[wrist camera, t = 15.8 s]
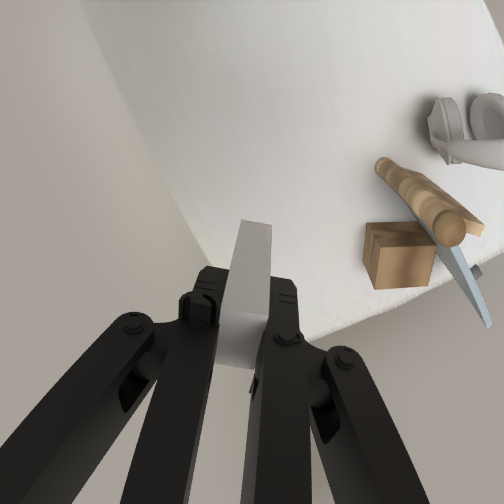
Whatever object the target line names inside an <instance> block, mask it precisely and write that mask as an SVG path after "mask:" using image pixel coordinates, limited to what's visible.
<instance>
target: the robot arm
mask: <svg viewBox="0 0 504 504" xmlns="http://www.w3.org/2000/svg"><path fill="white" fill-rule="evenodd" d="M271 241H272V225H269V224H263V223H258V222H252V221H246V220H241V223H240V228H239V232H238V236H237V240H236V244H235V249H234V253H233V257H232V261H231V266H230V270H228V269H222V268H217V267H211V266H206V267H205V268H204V269H202V270H201V271H200V272H199V275H198V277H197V280H196V283H195V285H194V288H193V291H191V292H187V293H186V294H184V295H182V297H181V298H180V299H179V318H178V319H177V320H175V321H172V322H166V323H153V321H152V320H151V318H150V317H149V316H147V315H146V314H144V313H140V312H129V313H125V314H122V315H121V316H119V317H118V318H117V319H116V320H115V321H114V322H113V323H112V324H111V325H110V326H109V327H108V328H107V329H106V330H105V331H104V332H103V333H102V334H101V335H100V336H99V338H98V339H97V340H96V341H95V342H94V343H93V344H92V345H91V346H90V347H89V348H88V349H87V350H86V351H85V352H84V353H83V354H82V356H81V357H80V358H79V359H78V360H77V361H76V362H75V363H74V364H73V365H72V366H71V367H70V368H69V370H68V371H67V372H66V373H65V374H64V375H63V376H62V377H61V378H60V379H59V381H58V382H57V383H56V384H55V385H54V386H53V387H52V388H51V389H50V391H49V392H48V393H47V394H46V395H45V396H44V397H43V398H42V400H41V401H40V402H39V403H38V404H37V405H36V406H35V407H34V409H33V410H32V411H31V412H30V413H29V415H28V416H27V417H26V418H25V419H24V420H23V421H22V423H21V424H20V425H19V426H18V427H17V429H16V430H15V431H14V432H13V433H12V434H11V436H10V437H9V438H8V439H7V440H6V442H5V443H4V444H3V445H2V446H1V448H0V504H72V502H73V501H74V499H75V498H76V496H77V495H78V493H79V492H80V491H81V489H82V488H83V486H84V485H85V483H86V482H87V480H88V479H89V477H90V476H91V475H92V473H93V472H94V470H95V469H96V467H97V465H98V464H99V463H100V461H101V460H102V459H103V457H104V456H105V454H106V453H107V451H108V450H109V448H110V447H111V446H112V444H113V443H114V441H115V439H116V438H117V437H118V435H119V434H120V432H121V431H122V429H123V428H124V427H125V425H126V424H127V422H128V421H129V419H130V418H131V417H132V415H133V414H134V412H135V411H136V409H137V408H138V406H139V405H140V404H141V402H142V401H143V399H144V398H145V396H146V395H147V393H148V392H149V390H150V389H151V388H152V386H153V384H154V383H155V382H156V380H157V383H156V386H155V389H154V392H153V395H152V398H151V401H150V404H149V407H148V410H147V413H146V416H145V420H144V423H143V426H142V429H141V432H140V436H139V439H138V442H137V445H136V449H135V453H134V455H133V459H132V462H131V466H130V469H129V472H128V476H127V480H126V483H125V487H124V490H123V494H122V497H121V501H120V504H188V500H189V495H190V489H191V483H192V479H193V473H194V468H195V462H196V456H197V451H198V446H199V440H200V435H201V430H202V425H203V420H204V414H205V409H206V404H207V399H208V393H209V388H210V383H211V378H212V372H213V365H214V363H217V364H222V365H228V366H234V367H240V368H246V369H253V370H254V368H255V374H254V378H253V381H252V384H251V388H250V391H249V393H251V400H250V412H249V422H248V432H247V442H246V453H245V462H244V473H243V482H242V492H241V502H240V504H312V482H311V444H310V443H311V442H310V427H311V430H312V433H313V436H314V439H315V442H316V445H317V448H318V452H319V455H320V458H321V461H322V464H323V467H324V470H325V473H326V477H327V480H328V483H329V486H330V489H331V492H332V495H333V499H334V502H335V504H430V503H429V500H428V498H427V496H426V493H425V491H424V488H423V486H422V484H421V482H420V479H419V477H418V475H417V472H416V470H415V468H414V466H413V463H412V461H411V459H410V457H409V454H408V452H407V450H406V448H405V446H404V444H403V441H402V439H401V437H400V435H399V433H398V431H397V428H396V427H395V424H394V422H393V420H392V418H391V416H390V414H389V412H388V410H387V407H386V405H385V403H384V401H383V399H382V397H381V395H380V393H379V391H378V389H377V387H376V385H375V383H374V381H373V379H372V377H371V375H370V373H369V371H368V369H367V367H366V365H365V363H364V361H363V359H362V358H361V356H360V355H359V354H358V353H357V352H356V351H355V350H353V349H352V348H349V347H346V346H335V347H332V348H331V349H329V350H328V351H324V350H321V349H318V348H316V347H314V346H312V345H310V344H309V343H308V342H306V341H305V339H304V336H303V334H302V333H301V332H300V329H299V313H298V299H297V288H296V286H295V285H294V283H293V282H292V280H290V279H284V278H278V277H273V276H270V270H271Z"/></svg>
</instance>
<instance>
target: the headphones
mask: <svg viewBox="0 0 504 504" xmlns="http://www.w3.org/2000/svg"><path fill="white" fill-rule="evenodd" d="M427 120H428V127H429V133H430V141H431V144H432V147H434V148H435V149H436V150H438V152H439V153H440V155H441V156H442V158H443V159H444V161H445V162H446V164H447V165H449V164H450V163H452V164H461V163H462V162H465V163H468V164H473V165H477V166H480V167H484V168H490V169H496V170H502V171H504V97H503V96H502V95H500V94H495V93H488V94H482V95H480V96H479V97H477V98H475V99H474V101H473V103H472V106H471V108H470V124H471V128H472V132H473V135H474V136H475V138H476V140H464V135H463V129H462V123H461V118H460V114H459V110H458V107H457V105H456V102H455V101H454V100H453V99H452V98H451V97H450V98H441V99H439V98H436V100H435V103H434V107H433V110H432V113H431V114H430V115H429V117H427Z"/></svg>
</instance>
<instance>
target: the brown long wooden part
mask: <svg viewBox="0 0 504 504" xmlns="http://www.w3.org/2000/svg"><path fill="white" fill-rule="evenodd" d="M375 170H376V172H377V174H378V175H379V176H380V177H381V178H382V179H383V180H384V181H385V182H386V183H387V184H388V185H389V186H390V187H391V188H392V189H393V190H394V191H395V192H396V193H397V194H398V195H399V196H400V197H401V198H402V199H403V200H404V202H405V203H406V204H407V205H408V206H409V207H410V208H411V209H412V210H413V211H414V212H415V214H416V215H417V216H418V217H419V218H420V219H421V220H422V221H423V222H424V224H425V225H426V226H427V227H428V228H429V229H430V230H431V232H432V233H433V235H434V237H435V239H436V241H437V242H438V243H439V244H440V245H442V246H444V247H455V246H457V245H459V244H460V243H461V242H462V241H463V239H464V237H465V234H466V233H469V234H473V235H476V236H479V237H480V235H481V233H482V231H483V228H484V226H485V225H484V224H483V223H482V222H481V221H479V220H478V219H477V218H476V217H475V216H474V215H473V214H471V213H470V212H469V211H468V210H467V209H466V208H464V207H463V206H462V205H461V204H460V203H459V202H457V201H456V200H455V199H454V198H452V197H451V196H450V195H449V194H447V193H446V192H445V191H444V190H442V189H441V188H440V187H439V186H437V185H436V184H435V183H433V182H432V181H431V180H430V179H428V178H427V177H426V176H424V175H423V174H420V173H417V172H414V171H411V170H408V169H405V168H401V167H400V166H398V165H397V164H396V163H394V162H393V161H392V160H390V159H389V158H381V159H379V160H378V161H377V163H376V166H375Z"/></svg>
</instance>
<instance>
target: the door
mask: <svg viewBox="0 0 504 504" xmlns="http://www.w3.org/2000/svg"><path fill="white" fill-rule="evenodd" d="M409 208H410V207H409ZM410 209H411V208H410ZM411 211H412V212H413V214H414V216H415V217H416V219H417V220H418V222H419V223H420V225H421V226H422V228H423V229H424V230H425V231H426V232H427V234H428V235H429V236H430V237H431V238H432V240H433V241H434V242H435V243H436V245H437V249H436V251H437V253H438V255H439V256H440V258H441V260H442V262H443V263H444V265H445V266H446V267H447V269H448V270H449V272H450V273H451V274H452V276H453V277H454V279H455V280H456V281H457V283H458V284H459V286H460V287H461V289H462V290H463V292H464V293H465V294H466V296H467V297H468V299H469V300H470V302H471V303H472V305H473V307H474V308H475V310H476V311H477V313H478V314H479V316H480V318H481V319H482V321H483V322H484V324H485V325H486V327H487V328H489V327H490V326H491V325H493V324H492V322H491V319H490V316H489V313H488V311H487V308H486V306H485V303H484V301H483V298H482V296H481V293H480V291H479V289H478V286H477V284H476V282H475V280H477V279H478V278H479V277H480V276H482V272H481V270H480V269H479V267H478V266H477V265H476V264H475V265H474V266H473V267H471V268H469V266H468V264H467V262H466V260H465V258H464V256H463V253H462V251H461V249H460V247H459V245H457V246H455V247H444V246H442V245H440V244H439V243H438V242H437V241H436V239H435V237H434V235H433V233H432V232H431V230H430V229H429V228H428V227H427V226H426V225H425V224H424V222H423V221H422V220H421V219H420V218H419V217H418V216H417V215H416V214H415V212H414V211H413V210H412V209H411Z"/></svg>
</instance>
